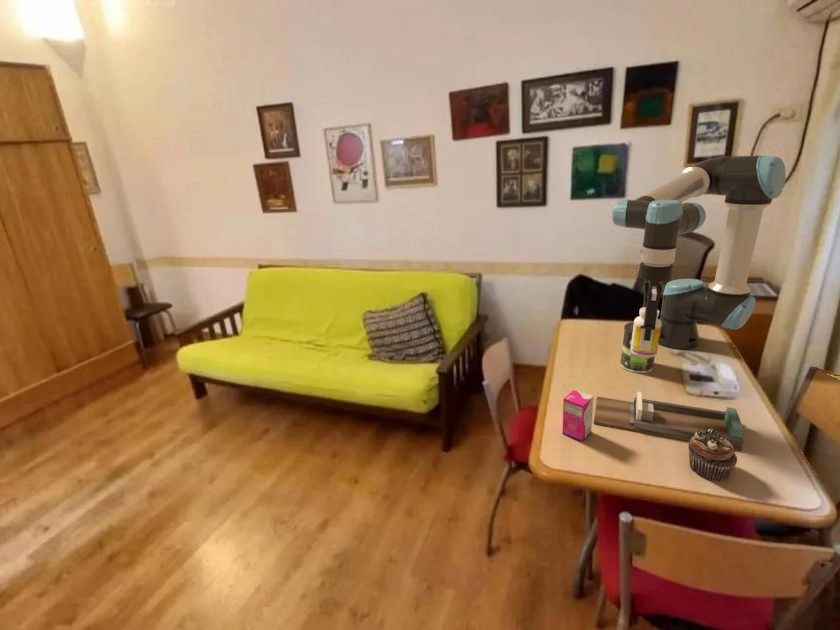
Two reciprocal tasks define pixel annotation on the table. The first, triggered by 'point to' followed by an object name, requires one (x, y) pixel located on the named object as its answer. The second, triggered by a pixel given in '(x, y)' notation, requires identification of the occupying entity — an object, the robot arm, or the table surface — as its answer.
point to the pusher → (643, 409)
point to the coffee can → (631, 360)
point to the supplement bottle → (637, 336)
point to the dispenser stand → (670, 420)
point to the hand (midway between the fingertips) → (644, 344)
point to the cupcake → (711, 455)
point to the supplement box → (577, 415)
